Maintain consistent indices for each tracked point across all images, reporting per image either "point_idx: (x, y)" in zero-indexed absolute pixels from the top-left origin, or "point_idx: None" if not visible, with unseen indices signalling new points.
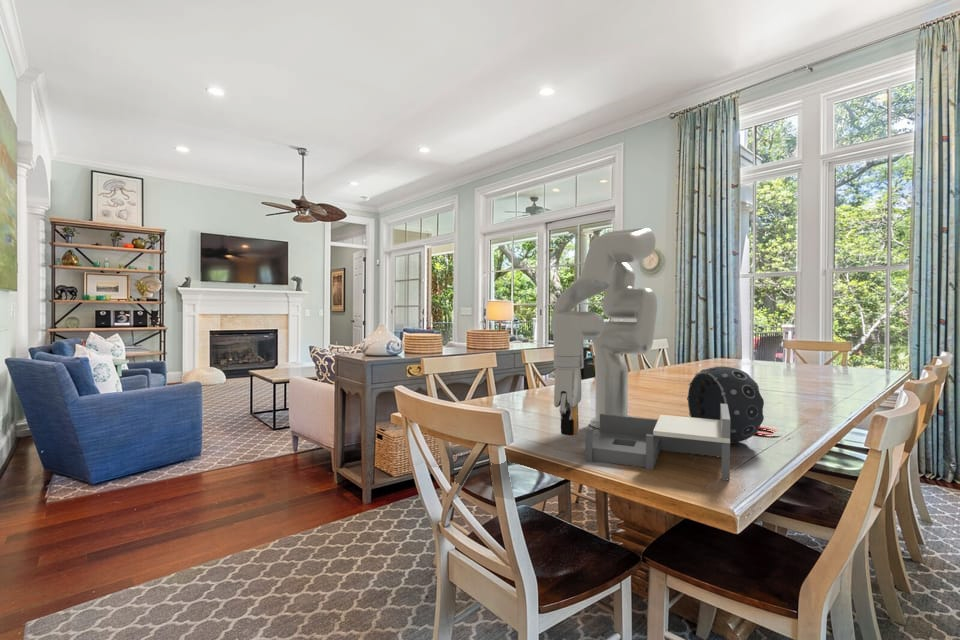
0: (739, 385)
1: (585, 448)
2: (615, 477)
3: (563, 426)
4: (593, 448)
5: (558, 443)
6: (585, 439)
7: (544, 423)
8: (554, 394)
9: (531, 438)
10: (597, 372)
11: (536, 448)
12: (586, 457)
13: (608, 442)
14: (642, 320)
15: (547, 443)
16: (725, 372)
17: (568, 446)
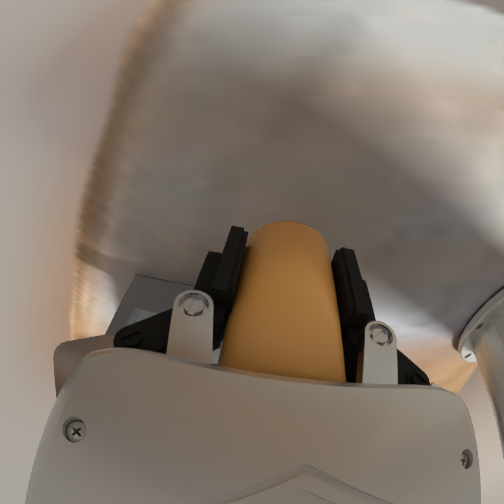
0: None
1: (120, 303)
2: (79, 319)
3: (201, 270)
4: (137, 321)
5: (328, 168)
6: (108, 328)
7: None
8: (36, 463)
9: (390, 33)
10: None
11: (208, 74)
12: (131, 284)
13: (218, 358)
14: None
15: (317, 115)
16: None
17: (288, 214)
